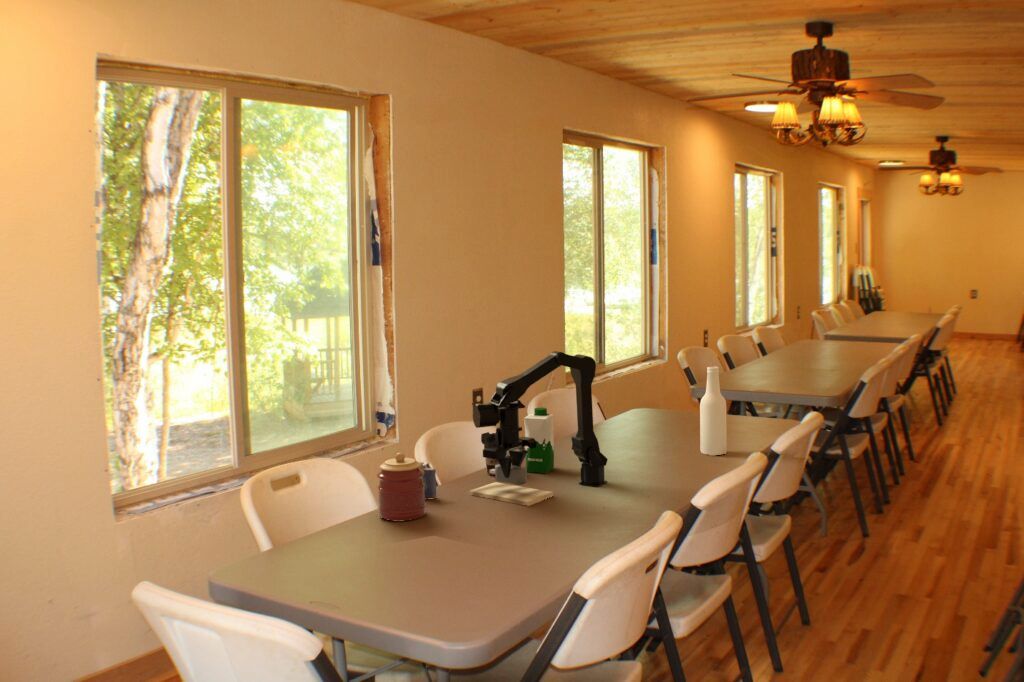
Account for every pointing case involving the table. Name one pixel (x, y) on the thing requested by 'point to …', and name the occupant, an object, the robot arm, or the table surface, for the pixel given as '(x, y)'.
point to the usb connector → (515, 475)
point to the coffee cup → (491, 462)
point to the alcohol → (713, 416)
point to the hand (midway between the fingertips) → (510, 476)
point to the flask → (429, 481)
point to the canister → (401, 489)
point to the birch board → (511, 493)
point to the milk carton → (540, 441)
